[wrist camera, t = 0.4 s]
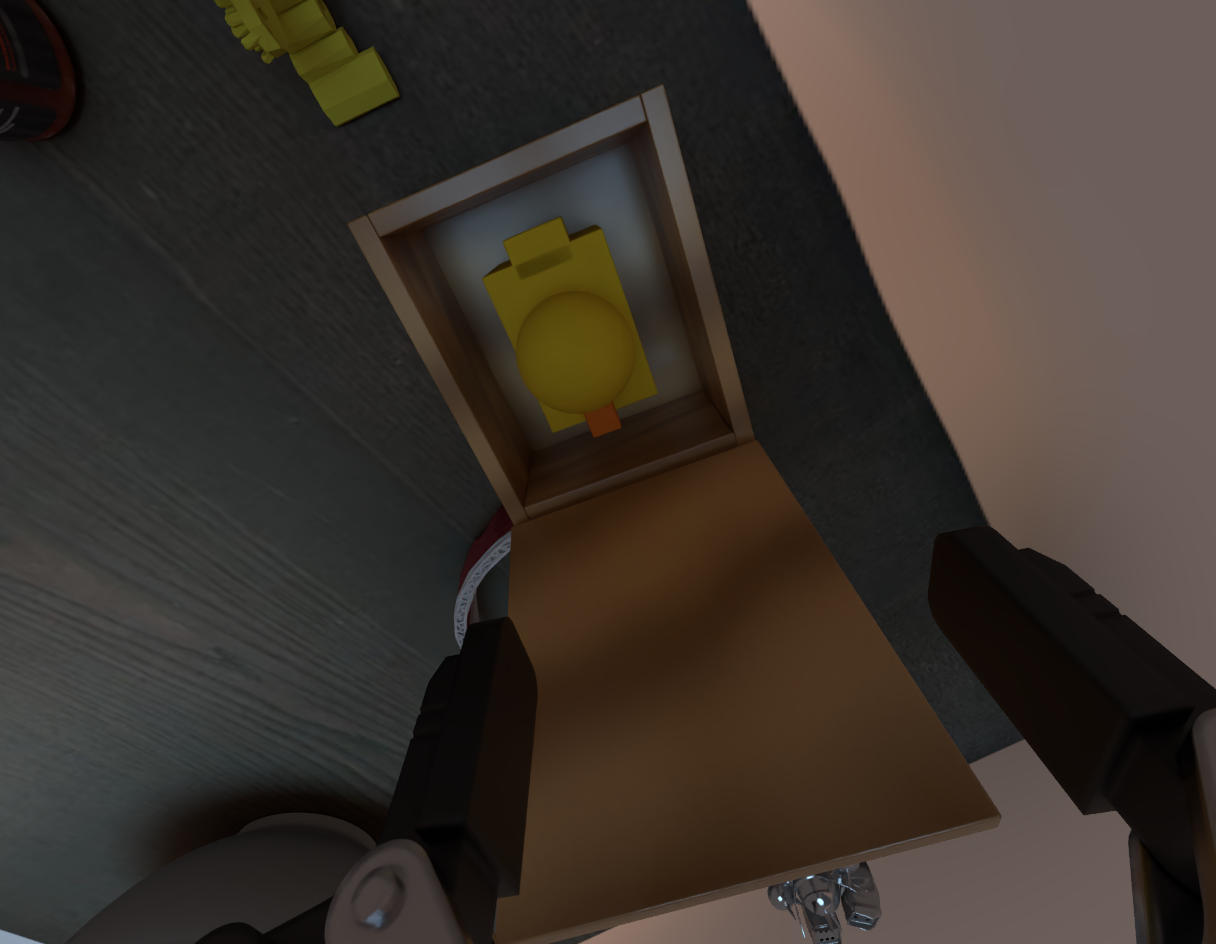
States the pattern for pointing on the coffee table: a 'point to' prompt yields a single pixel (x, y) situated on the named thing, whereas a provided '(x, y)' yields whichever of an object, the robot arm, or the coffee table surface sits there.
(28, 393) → the coffee table surface
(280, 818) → the decorative bowl
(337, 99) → the decorative insect
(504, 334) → the chest
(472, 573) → the sunglasses
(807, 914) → the robot toy
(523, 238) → the duck
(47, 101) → the supplement bottle
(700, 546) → the lid
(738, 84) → the coffee table surface
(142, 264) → the coffee table surface
